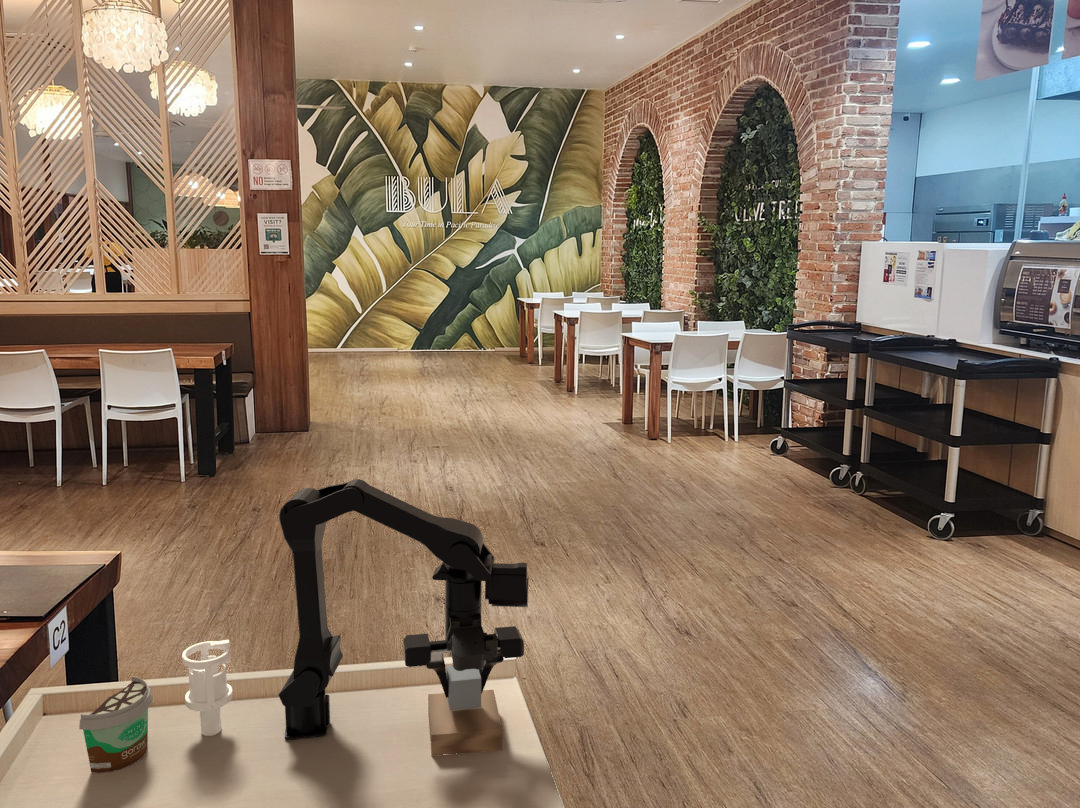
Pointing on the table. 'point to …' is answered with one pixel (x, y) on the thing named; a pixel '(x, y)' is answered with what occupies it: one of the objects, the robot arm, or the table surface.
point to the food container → (118, 728)
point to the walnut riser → (464, 726)
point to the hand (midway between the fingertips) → (463, 694)
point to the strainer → (208, 684)
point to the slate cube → (463, 688)
